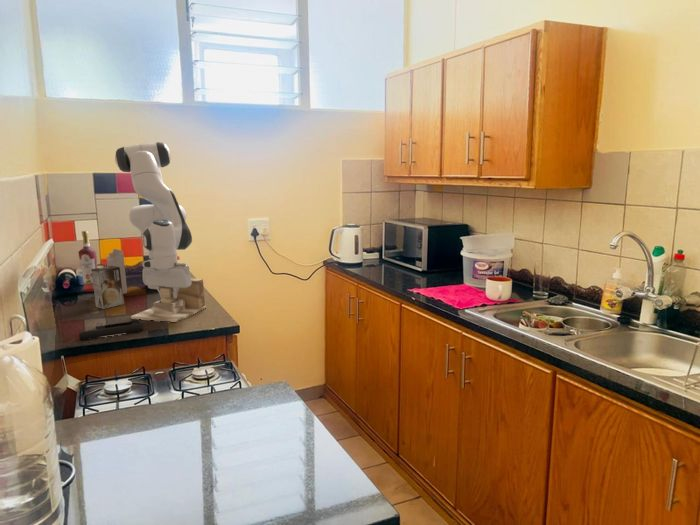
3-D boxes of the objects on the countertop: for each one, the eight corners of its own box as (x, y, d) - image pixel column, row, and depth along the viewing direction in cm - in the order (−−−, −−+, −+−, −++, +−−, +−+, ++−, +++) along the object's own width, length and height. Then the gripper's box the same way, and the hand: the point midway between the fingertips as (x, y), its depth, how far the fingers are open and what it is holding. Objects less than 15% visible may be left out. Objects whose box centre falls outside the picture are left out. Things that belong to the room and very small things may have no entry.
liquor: (102, 288, 250) (96, 230, 244) (97, 292, 243) (90, 232, 237) (86, 289, 249) (79, 230, 243) (80, 293, 242) (73, 232, 236)
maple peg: (168, 305, 210) (166, 286, 208) (176, 306, 208) (175, 286, 207) (161, 308, 206) (159, 288, 204) (170, 309, 205) (168, 289, 203)
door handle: (79, 323, 190) (78, 333, 176) (138, 315, 199) (142, 324, 184) (80, 332, 190) (79, 343, 176) (139, 324, 199) (143, 333, 185)
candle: (94, 298, 233) (89, 253, 229) (118, 290, 246) (114, 248, 242) (107, 299, 231) (102, 254, 227) (130, 291, 243) (126, 248, 240)
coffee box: (116, 302, 226) (112, 265, 223) (124, 304, 222) (120, 266, 219) (95, 306, 219) (90, 268, 216) (103, 309, 215) (99, 270, 212)
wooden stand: (165, 304, 221) (163, 276, 218) (207, 308, 214) (205, 279, 212) (131, 318, 202) (128, 288, 199) (175, 323, 195) (172, 291, 193)
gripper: (193, 262, 203) (196, 297, 206) (149, 259, 210) (152, 293, 213) (183, 265, 198) (186, 301, 200) (138, 262, 204) (141, 297, 207)
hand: (168, 297), depth 206 cm, fingers closed on maple peg, 4 cm apart
